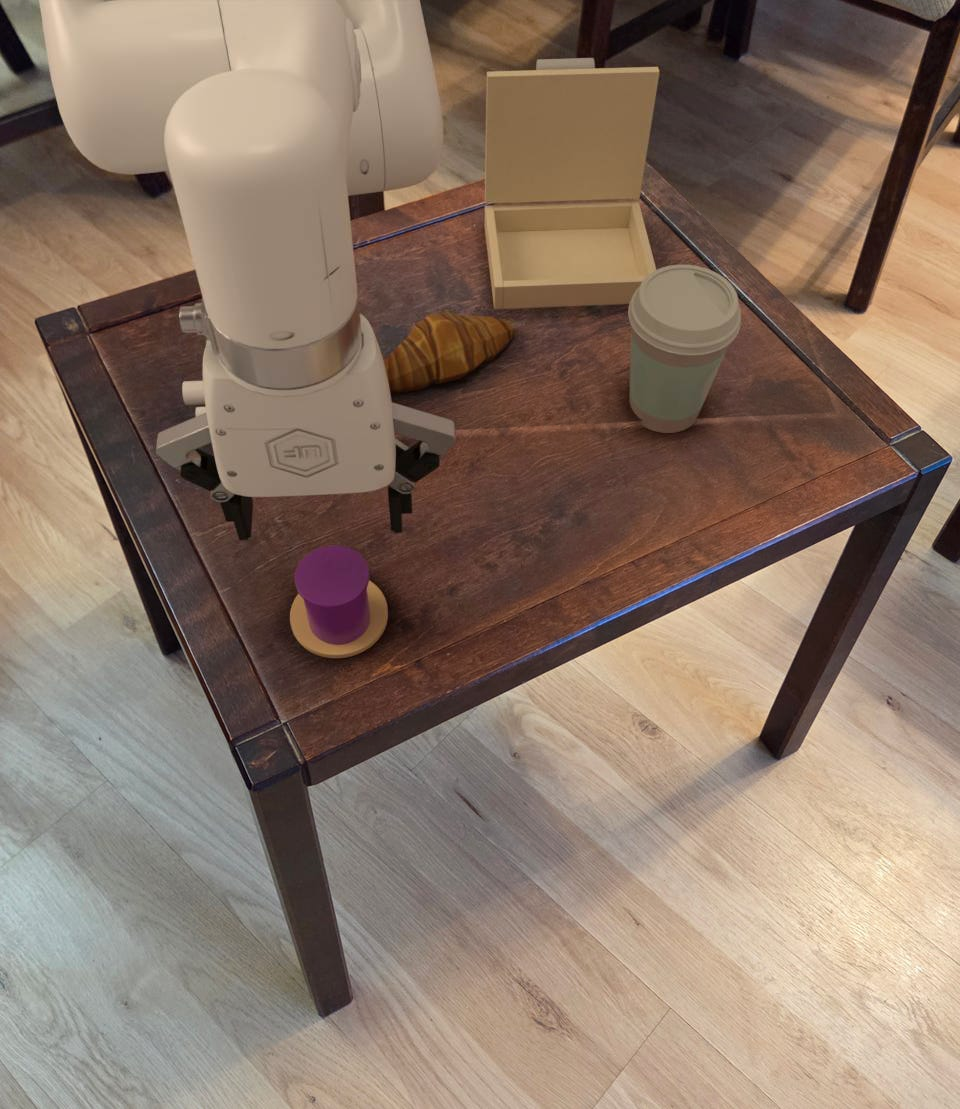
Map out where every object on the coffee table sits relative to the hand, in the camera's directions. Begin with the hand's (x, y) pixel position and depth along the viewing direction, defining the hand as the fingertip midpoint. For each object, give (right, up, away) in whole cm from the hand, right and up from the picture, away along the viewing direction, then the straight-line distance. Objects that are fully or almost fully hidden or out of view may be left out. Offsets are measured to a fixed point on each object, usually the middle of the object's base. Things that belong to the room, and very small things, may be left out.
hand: (321, 518), depth 68 cm
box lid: (+18, +34, +26) cm, 47 cm away
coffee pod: (0, -7, +7) cm, 10 cm away
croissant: (+7, +14, +23) cm, 28 cm away
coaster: (0, -7, +8) cm, 11 cm away
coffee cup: (+26, +10, +21) cm, 34 cm away
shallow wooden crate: (+18, +24, +31) cm, 43 cm away
